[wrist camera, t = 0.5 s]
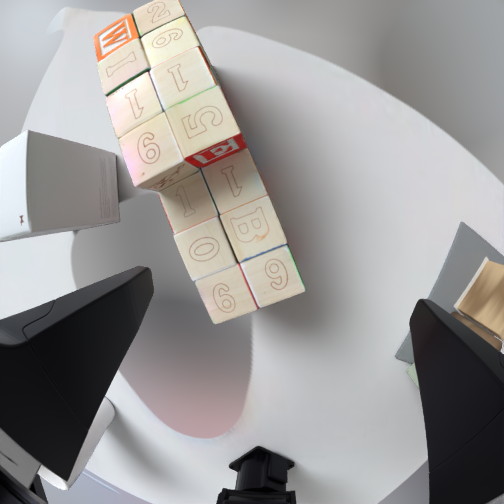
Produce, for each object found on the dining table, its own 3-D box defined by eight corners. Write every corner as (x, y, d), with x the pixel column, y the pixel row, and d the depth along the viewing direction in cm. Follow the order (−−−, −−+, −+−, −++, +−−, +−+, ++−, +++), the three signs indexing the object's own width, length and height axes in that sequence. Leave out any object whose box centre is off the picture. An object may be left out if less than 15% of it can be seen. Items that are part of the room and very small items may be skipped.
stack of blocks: (295, 263, 25) (314, 312, 13) (232, 287, 26) (199, 350, 14) (211, 64, 23) (173, -13, 11) (155, 90, 24) (90, 34, 12)
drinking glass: (106, 426, 31) (57, 491, 16) (74, 392, 30) (15, 451, 16) (129, 414, 30) (77, 491, 15) (94, 377, 29) (27, 444, 15)
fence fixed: (451, 327, 25) (493, 359, 16) (445, 320, 25) (488, 352, 16) (492, 267, 23) (539, 284, 15) (486, 259, 23) (535, 274, 15)
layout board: (464, 380, 26) (466, 382, 25) (394, 356, 26) (396, 358, 25) (519, 272, 23) (521, 273, 23) (460, 221, 23) (463, 222, 23)
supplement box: (117, 151, 25) (29, 126, 13) (121, 223, 26) (30, 236, 14) (66, 167, 26) (-19, 157, 13) (70, 231, 27) (-17, 246, 14)
